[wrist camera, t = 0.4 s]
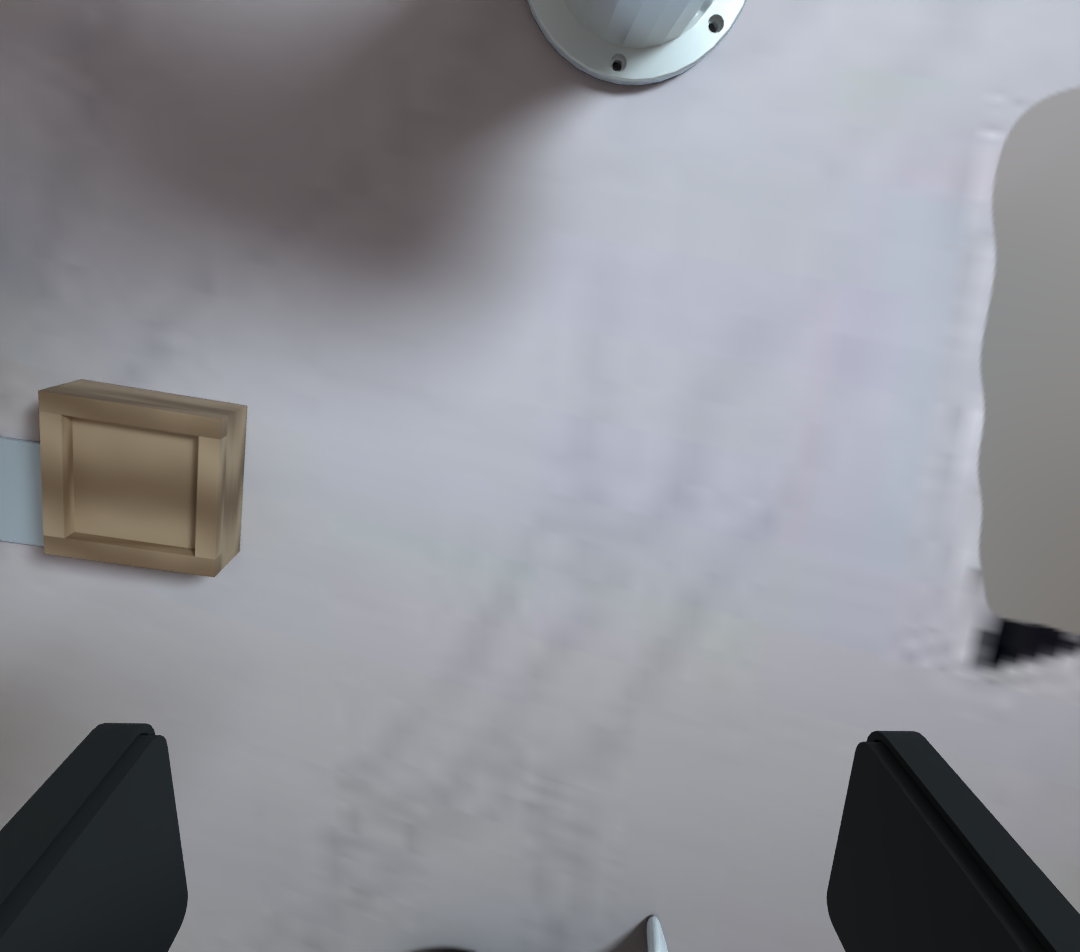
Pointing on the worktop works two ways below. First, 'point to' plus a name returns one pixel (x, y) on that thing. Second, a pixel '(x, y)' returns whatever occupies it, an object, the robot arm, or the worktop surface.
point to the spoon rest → (655, 936)
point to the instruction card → (20, 492)
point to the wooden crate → (141, 477)
